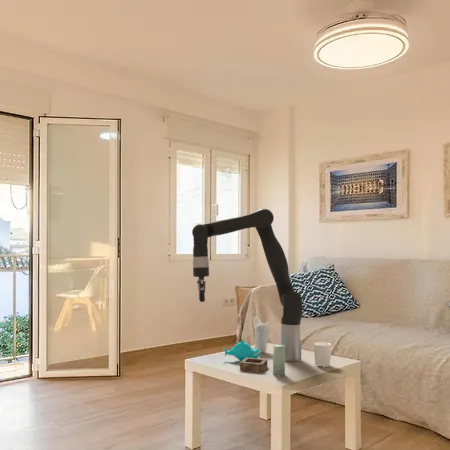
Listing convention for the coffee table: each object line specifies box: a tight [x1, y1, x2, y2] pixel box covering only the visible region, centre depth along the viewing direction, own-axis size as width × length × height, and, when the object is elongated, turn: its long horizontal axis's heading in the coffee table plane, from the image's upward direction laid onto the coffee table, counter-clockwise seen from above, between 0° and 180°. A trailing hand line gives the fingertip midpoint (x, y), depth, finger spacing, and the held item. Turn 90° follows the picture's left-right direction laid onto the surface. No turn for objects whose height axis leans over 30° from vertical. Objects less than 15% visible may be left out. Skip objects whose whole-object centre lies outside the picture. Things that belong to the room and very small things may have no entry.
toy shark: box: [222, 338, 262, 362], centre depth 227 cm, size 10×18×11 cm, turn 88°
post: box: [272, 344, 286, 377], centre depth 204 cm, size 5×5×12 cm
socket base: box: [239, 357, 268, 373], centre depth 213 cm, size 10×10×4 cm
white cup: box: [313, 341, 332, 367], centre depth 221 cm, size 8×8×10 cm
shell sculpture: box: [252, 316, 271, 354], centre depth 247 cm, size 8×8×18 cm
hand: (201, 301), depth 225 cm, fingers open, 8 cm apart
